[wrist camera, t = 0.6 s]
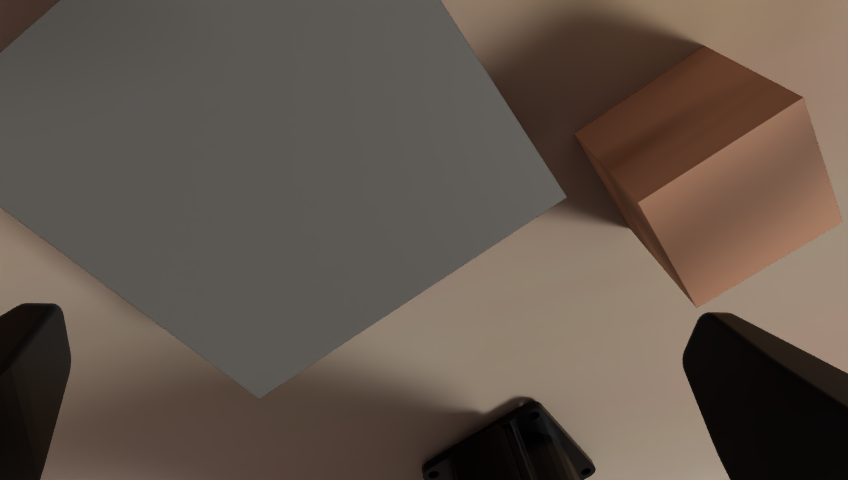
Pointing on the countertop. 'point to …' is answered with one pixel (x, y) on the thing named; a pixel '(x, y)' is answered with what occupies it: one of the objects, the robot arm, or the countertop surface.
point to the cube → (713, 172)
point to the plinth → (262, 164)
